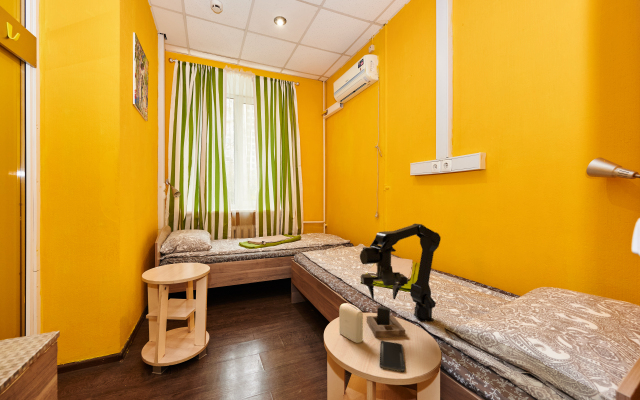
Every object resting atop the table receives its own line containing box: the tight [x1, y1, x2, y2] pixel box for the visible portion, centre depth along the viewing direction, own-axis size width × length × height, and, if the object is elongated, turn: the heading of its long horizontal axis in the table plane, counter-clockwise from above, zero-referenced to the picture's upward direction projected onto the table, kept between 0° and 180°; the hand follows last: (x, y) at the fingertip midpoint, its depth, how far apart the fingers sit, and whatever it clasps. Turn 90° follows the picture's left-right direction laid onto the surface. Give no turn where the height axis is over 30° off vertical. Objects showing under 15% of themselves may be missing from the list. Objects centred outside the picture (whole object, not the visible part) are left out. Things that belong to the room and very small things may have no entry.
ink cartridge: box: [376, 305, 391, 325], centre depth 106 cm, size 5×2×8 cm, turn 65°
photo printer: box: [338, 302, 364, 344], centre depth 98 cm, size 10×4×12 cm, turn 39°
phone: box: [378, 340, 406, 373], centre depth 86 cm, size 8×1×15 cm
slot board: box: [365, 314, 406, 339], centre depth 104 cm, size 12×12×2 cm
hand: (383, 299), depth 106 cm, fingers open, 9 cm apart
